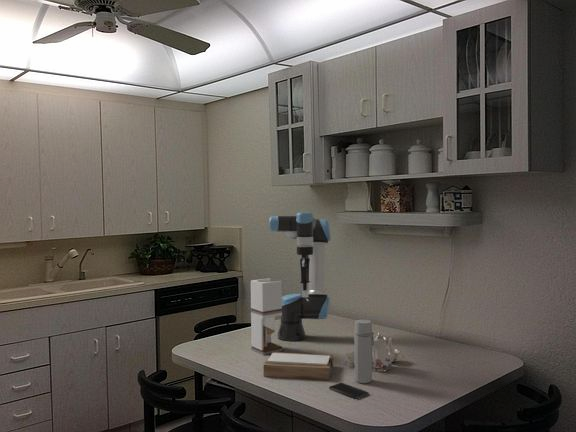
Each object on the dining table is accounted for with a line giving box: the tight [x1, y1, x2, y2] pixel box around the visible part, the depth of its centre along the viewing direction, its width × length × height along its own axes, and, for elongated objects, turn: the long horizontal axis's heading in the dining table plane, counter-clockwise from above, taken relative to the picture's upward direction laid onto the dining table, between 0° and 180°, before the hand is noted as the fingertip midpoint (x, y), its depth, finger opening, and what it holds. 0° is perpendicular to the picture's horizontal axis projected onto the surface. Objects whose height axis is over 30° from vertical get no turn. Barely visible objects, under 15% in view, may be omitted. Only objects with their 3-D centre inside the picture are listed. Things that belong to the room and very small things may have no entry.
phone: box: [328, 382, 370, 400], centre depth 202 cm, size 8×1×15 cm
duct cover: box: [266, 352, 330, 366], centre depth 225 cm, size 11×26×1 cm, turn 79°
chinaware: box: [344, 332, 404, 372], centre depth 231 cm, size 28×17×17 cm, turn 112°
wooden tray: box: [263, 351, 334, 381], centre depth 226 cm, size 18×28×5 cm, turn 79°
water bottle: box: [353, 319, 376, 384], centre depth 213 cm, size 9×8×25 cm
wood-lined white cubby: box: [250, 278, 283, 356], centre depth 256 cm, size 11×11×35 cm
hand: (305, 296), depth 237 cm, fingers closed
